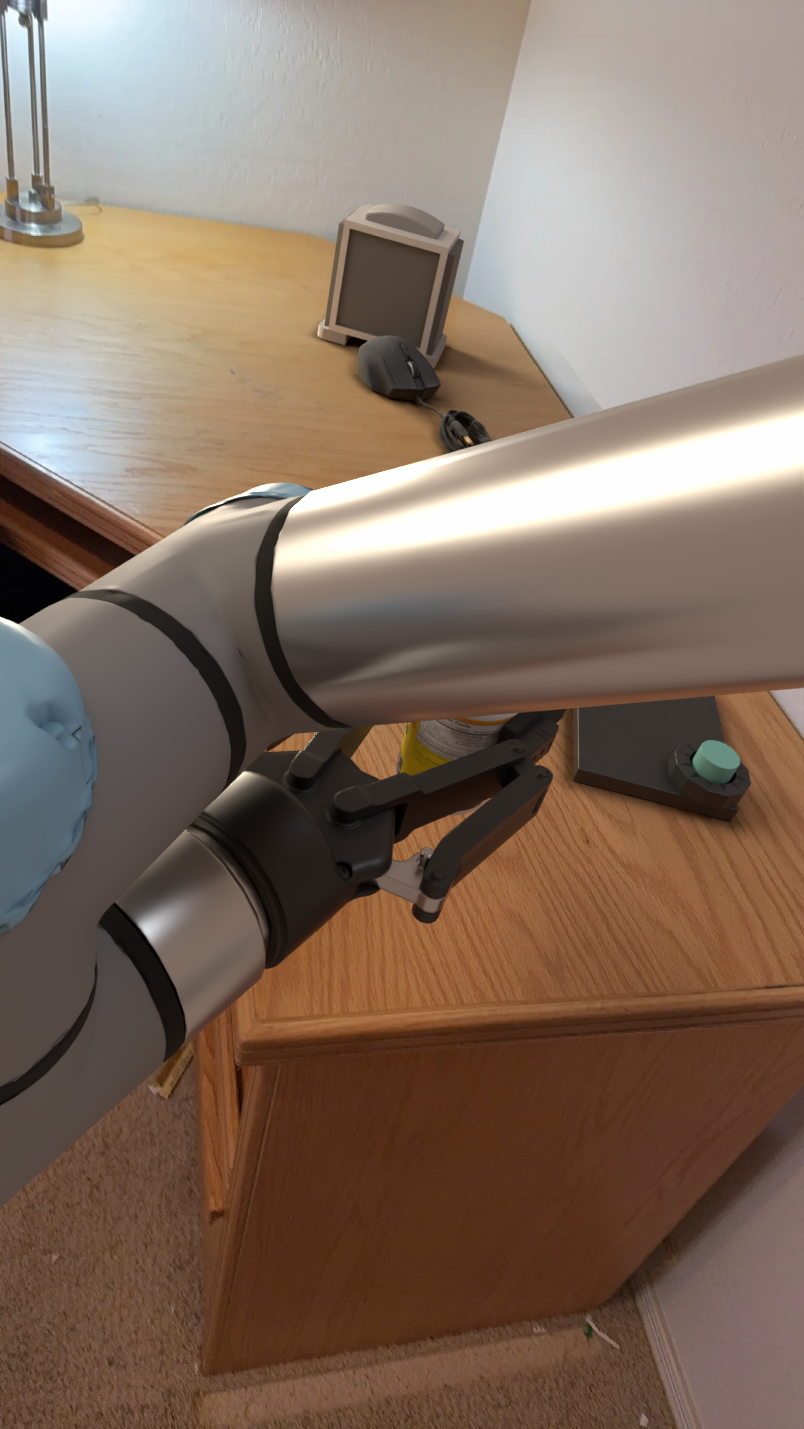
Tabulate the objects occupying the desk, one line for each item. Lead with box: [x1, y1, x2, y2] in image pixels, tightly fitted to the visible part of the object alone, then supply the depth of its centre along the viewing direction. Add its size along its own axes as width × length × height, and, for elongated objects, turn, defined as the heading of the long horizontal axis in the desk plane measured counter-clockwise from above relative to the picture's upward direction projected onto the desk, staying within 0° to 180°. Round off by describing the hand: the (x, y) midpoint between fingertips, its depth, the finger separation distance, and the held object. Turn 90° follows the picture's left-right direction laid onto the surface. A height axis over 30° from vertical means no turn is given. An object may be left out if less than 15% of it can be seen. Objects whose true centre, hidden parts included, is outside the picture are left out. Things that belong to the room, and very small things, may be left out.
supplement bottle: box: [395, 713, 518, 817], centre depth 47 cm, size 6×6×10 cm
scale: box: [572, 696, 752, 822], centre depth 74 cm, size 16×14×3 cm
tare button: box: [692, 740, 741, 784], centre depth 69 cm, size 3×3×2 cm
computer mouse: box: [356, 336, 492, 453], centre depth 117 cm, size 10×32×6 cm, turn 29°
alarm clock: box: [317, 202, 465, 369], centre depth 131 cm, size 18×13×18 cm
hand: (517, 667), depth 50 cm, fingers closed on supplement bottle, 6 cm apart
